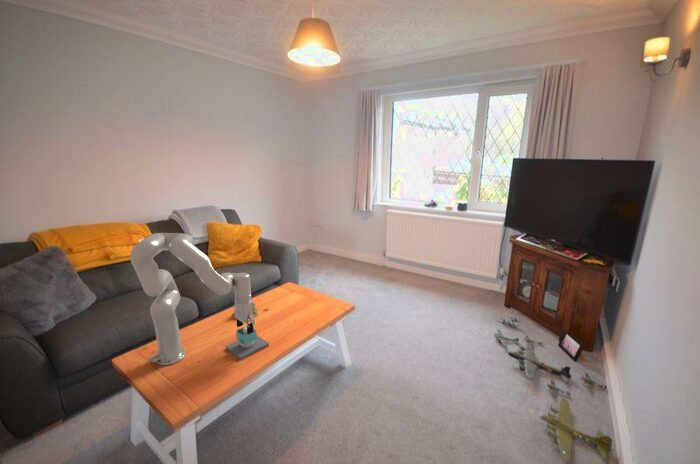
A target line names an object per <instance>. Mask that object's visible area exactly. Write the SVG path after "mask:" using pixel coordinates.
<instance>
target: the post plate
mask: <svg viewBox="0 0 700 464" xmlns="http://www.w3.org/2000/svg"><path fill="white" fill-rule="evenodd" d="M244 327H245V328H243V327H242V328H243V333H244V334H245V333H247V327H246V326H244ZM256 336H257V339H256V340H254V341H251V342H249V343H247V344H245V345H244V344H242V343H241V342H239V341H238V340H236V341H233V342H232V343H229V344H227V345H225V350H227V351H228V352H229V353H230V354H232V355H233V356H234V357H236V358H237V359H238V360H239V361H242V360H245V358H248V357H250V356H251V355H254V354H256V353H258V352H260V351H261V350H264V349H265V348H267V347H270V343H269V342H268V341H266V340H265V339H264V338H262V337H260V336H259V335H257V334H256Z"/></svg>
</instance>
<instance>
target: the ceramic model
mask: <svg viewBox="0 0 700 464" xmlns="http://www.w3.org/2000/svg"><path fill="white" fill-rule="evenodd" d="M251 304H252V311H253V318H255V317H257V316H259V313H258V309H257V308H256V305H257V304H256V302H255V301H253V300H252V299H251ZM234 315H235V312H234Z"/></svg>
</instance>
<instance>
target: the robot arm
mask: <svg viewBox="0 0 700 464" xmlns="http://www.w3.org/2000/svg"><path fill="white" fill-rule="evenodd" d="M194 243H195V240H194V238H193V237H192V236H191V235H189V234H187V233H180V232H176V233H175V232H171V233H170V232H155V233H151V234H150V235H148V236H147V237H145V238H143V239H142V240H141V241H139V242H138V243H136V244H135V246H133V248H132V250H131V251H130V256H129V259H130V263H131V265H132V267H133V269H134V271H135V273H136V276H137V278H138V280H139V283H140V285H141V286H142V289H143V291H144V293H145V294H146V295H147V296H149V297H153V298H155V297H156V298H155V299H154V300H153V302H152V303H151V306H150V309H149V311H150V316H151V318H152V321H153V326H154V332H155V338H156V344H157V351H156V353H155V354H154V355H152V356H151V355H150V356H149V357H147V359H146V360H147V362H149V363H150V362H152V363H156V364H157V365H159V366H170V365H174V364H176V363H179V362H180V361H182V360H183V359H184V358H185V356H186V355H187V351H186V349H185V348H183V347H182V341H181V336H180V335H181V334H180V328H179V321H178V317H177V315H176V308H177V306H178V305H179V303H180V301H181V294H180V290H179V289H178V286H177V284H176V282H175V279H174V277H173V275H172V274H171V272H169V271H168V270H167V269H162V268H160V269H159V265H158V263H157V261H156V260H155V259H154V258H155V257H156V256H157V255H159V254H160V253H161V252H163V251H170V253H171V254H172V255H173V256H175V258H177V259H179V260H180V261H181V262H183V263H184V264H185V265H186V266H188V267H189V268H190V269H192V270H193V271H194V272H195V274H196V276H197V277H198V278H199V279H200V281H201V282H202V283H203V284H204V286H206V287H207V288H208V289H210V290H211V291H212V292H213V293H215V294H217V295H220V296H226V295H228V294H230V293H231V291H232V289H233V290H234V309H233V310H234V312H235V314H234V318H235V321H236V327H237V328H239V327H242V326H244V324H246V326H248V327H247V334H251V333H253V332H254V330H253V328H254V326H255V322H256V320H255V317H253V311H252V304H251V300H252V289H251V288H252V287H251V276H250V274H249V272H248V273H247V272H239V273H237V272H222V273H221V274H219V273H218V272H217V271H216V270H215V269H214V268H213V265H212V262H211V260H210V258H209V256H208V255H207V254H206V253H204V252H203V251H202V250H200V249H199V248H198V247H196V246H195V245H194ZM249 322H250V323H249Z"/></svg>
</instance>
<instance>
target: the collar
mask: <svg viewBox="0 0 700 464" xmlns="http://www.w3.org/2000/svg"><path fill="white" fill-rule="evenodd" d="M245 327H248V326H247V325H245V326H243V327H241V328H239V329H237V330H236V331H235V332H236V341H239V342H241V343H242V344H244V345H245V344H247V343H249V342H251V341H254V340H256V339H257V336H258V335H257V329H255V328H254V327H253V330H254V332H253V333H251V334H247V333H245V334H244V333H243V328H245ZM256 335H257V336H256Z"/></svg>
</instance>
